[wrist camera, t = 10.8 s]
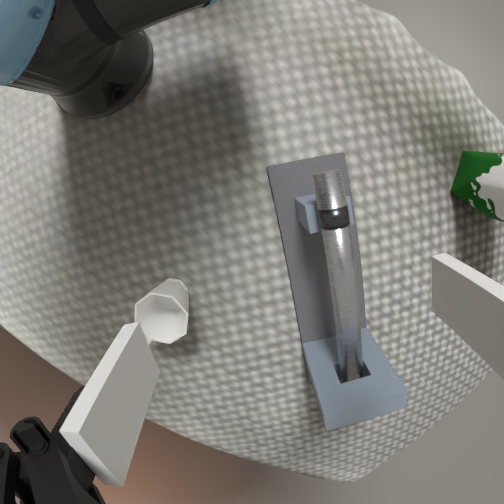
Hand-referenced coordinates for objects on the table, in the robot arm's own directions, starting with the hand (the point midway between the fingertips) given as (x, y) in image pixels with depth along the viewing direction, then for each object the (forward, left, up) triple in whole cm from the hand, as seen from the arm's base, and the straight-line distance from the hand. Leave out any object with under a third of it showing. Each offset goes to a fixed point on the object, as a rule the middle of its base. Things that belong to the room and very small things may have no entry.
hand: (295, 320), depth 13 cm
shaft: (+6, +10, -21) cm, 24 cm away
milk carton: (-10, +32, -29) cm, 44 cm away
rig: (+9, +11, -29) cm, 32 cm away
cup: (+14, -11, -29) cm, 34 cm away
